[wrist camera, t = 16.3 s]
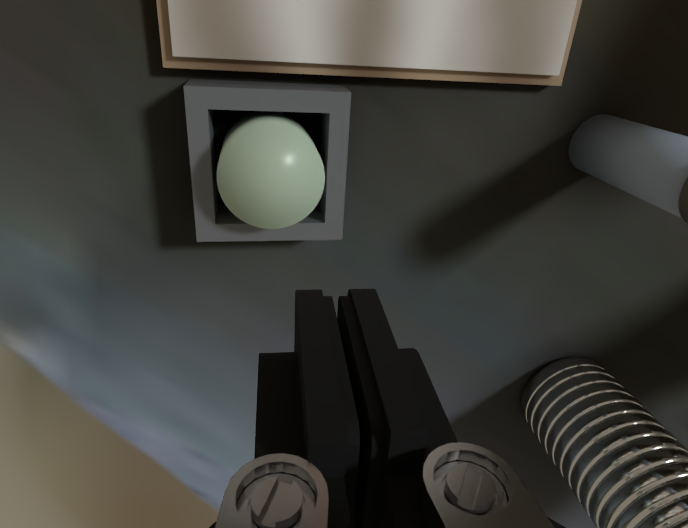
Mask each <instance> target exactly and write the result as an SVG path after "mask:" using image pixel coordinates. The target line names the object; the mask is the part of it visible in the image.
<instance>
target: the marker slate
mask: <svg viewBox="0 0 688 528" xmlns="http://www.w3.org/2000/svg"><path fill="white" fill-rule="evenodd" d="M569 158H570V161H571V163H572V164H573V166H574V167H575V168H577V169H578V170H580V171H583V172H585V173H587V174H589V175H591V176H593V177H595V178H597V179H600V180H602V181H604V182H606V183H608V184H610V185H612V186H614V187H617V188H619V189H621V190H623V191H625V192H627V193H629V194H631V195H634V196H636V197H638V198H640V199H642V200H644V201H646V202H648V203H651V204H653V205H655V206H657V207H659V208H661V209H663V210H665V211H667V212H670V213H672V214H674V215H676V216H678V217H680V218H682V219H683V220H684V221H685V222H686V223H688V137H687V136H684V135H680V134H676V133H673V132H669V131H666V130H662V129H658V128H655V127H651V126H648V125H644V124H640V123H637V122H633V121H630V120H626V119H622V118H619V117H615V116H612V115H608V114H599V115H595V116H592V117H590V118H588V119H587V120H585V121H584V122H583V123H582V124H581V125H580V126H579V127H578V128H577V129H576V131H575V132H574V134H573V136H572V138H571V140H570V144H569Z"/></svg>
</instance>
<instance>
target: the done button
mask: <svg viewBox="0 0 688 528" xmlns="http://www.w3.org/2000/svg"><path fill="white" fill-rule="evenodd" d="M324 184H325V172H324V166H323V163H322V160H321V157H320V155H319V153H318V151H317V149H316V147H315V145H314V143H313V141H312V139H311V137H310V135H309V133H308V132H307V130H306V129H305V128H304V126H303V125H302V124H301V123H299V122H298V121H297V120H296V119H294V118H293V117H291V116H289V115H287V114H285V113H282V112H275V111H256V112H253V113H250V114H247V115H245V116H243V117H242V118H240V119H239V120H238V121H237V122H235V123H234V124H233V126H232V127H231V128H230V129H229V131H228V132H227V134H226V136H225V138H224V141H223V144H222V149H221V153H220V157H219V162H218V167H217V186H218V190H219V193H220V196H221V198H222V200H223V202H224V203H225V205H226V206H227V208H228V209H229V210H230V211H231V212H232V213H233V214H234V215H235V216H236V217H238V218H239V219H240V220H242V221H244V222H245V223H247V224H250V225H252V226H255V227H258V228H264V229H280V228H285V227H288V226H291V225H294V224H296V223H298V222H300V221H301V220H303V219H304V218H305V217H307V216H308V215H309V214H310V213H311V212H312V211H313V210H314V208H315V207H316V206H317V204H318V202H319V200H320V198H321V196H322V193H323V189H324Z"/></svg>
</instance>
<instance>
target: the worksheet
mask: <svg viewBox="0 0 688 528" xmlns="http://www.w3.org/2000/svg"><path fill="white" fill-rule="evenodd" d="M156 3H157V13H158V22H159V32H160V42H161V52H162V62H163V68H183V69H204V70H226V71H248V72H270V73H291V74H313V75H335V76H356V77H378V78H400V79H422V80H443V81H465V82H487V83H509V84H530V85H552V86H561V84H562V80H563V76H564V72H565V68H566V64H567V60H568V56H569V52H570V48H571V44H572V40H573V35H574V31H575V27H576V23H577V19H578V15H579V11H580V7H581V3H582V0H156Z"/></svg>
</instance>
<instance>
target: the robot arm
mask: <svg viewBox="0 0 688 528" xmlns="http://www.w3.org/2000/svg"><path fill="white" fill-rule="evenodd" d="M209 528H565V527H563V526H562V525H560V524H558V523H557V522H555V521H553V520H551V519H550V518H548V517H547V516H546V515H545V514H544V512H543V511H542V509H541V508H540V507H539V505H538V504H537V502H536V501H535V500H534V498H533V497H532V495H531V494H530V493H529V491H528V490H527V488H526V487H525V486H524V484H523V483H522V481H521V480H520V478H519V477H518V476H517V474H516V473H515V471H514V470H513V469H512V468H511V467H510V466H509V465H508V464H507V463H506V462H505V460H504V459H502V458H501V457H499V456H498V455H496V454H495V453H493V452H492V451H490V450H488V449H485V448H483V447H481V446H478V445H475V444H469V443H464V442H459V443H458V442H457V440H456V437H455V435H454V433H453V430H452V428H451V426H450V424H449V421H448V419H447V417H446V414H445V412H444V410H443V408H442V405H441V403H440V401H439V398H438V396H437V394H436V391H435V389H434V387H433V385H432V382H431V380H430V378H429V375H428V373H427V371H426V369H425V366H424V364H423V362H422V359H421V357H420V355H419V353H418V351H417V350H416V349H414V348H407V349H398V347H397V344H396V342H395V339H394V336H393V334H392V331H391V328H390V326H389V323H388V321H387V318H386V315H385V313H384V310H383V307H382V305H381V302H380V300H379V297H378V294H377V292H376V290H375V289H349V291H348V296H339V300H338V314H337V317H336V312H335V308H334V303H333V298H332V296H323V293H322V290H296V292H295V345H294V352H284V353H259V365H258V388H257V412H256V436H255V459H253V460H252V461H250V462H249V463H247V464H245V465H244V466H242V467H241V468H240V469H239V470H238V471H237V472H236V473H235V475H234V476H233V477H232V478H231V479H230V482H229V484H228V486H227V488H226V490H225V493H224V496H223V500H222V504H221V507H220V511H219V515H218V518H217V521H216V522H215V523H214V524H213V525H211V527H209Z"/></svg>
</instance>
